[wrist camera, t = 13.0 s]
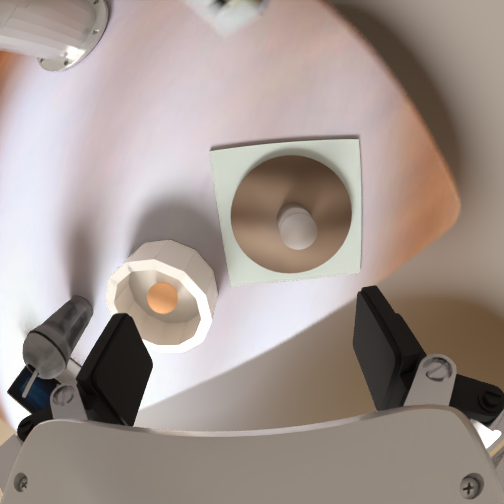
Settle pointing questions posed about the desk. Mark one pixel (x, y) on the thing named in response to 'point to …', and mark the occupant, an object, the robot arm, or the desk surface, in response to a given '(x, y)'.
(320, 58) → the desk surface
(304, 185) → the lid
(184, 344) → the bowl
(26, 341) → the beverage cup
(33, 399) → the laptop
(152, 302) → the ball
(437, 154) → the desk surface
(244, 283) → the mat
